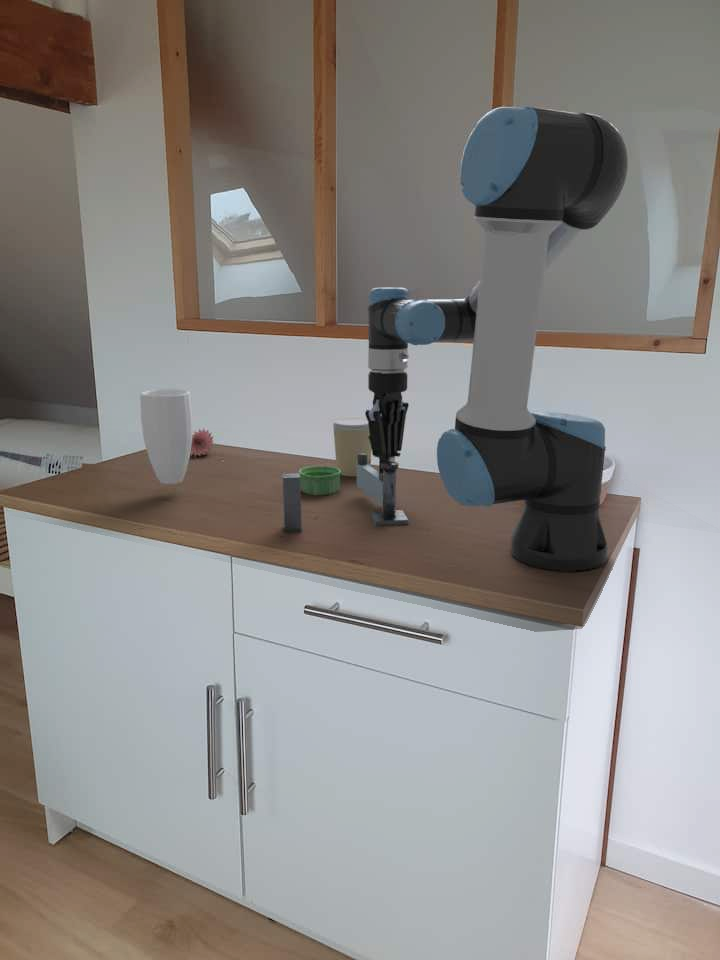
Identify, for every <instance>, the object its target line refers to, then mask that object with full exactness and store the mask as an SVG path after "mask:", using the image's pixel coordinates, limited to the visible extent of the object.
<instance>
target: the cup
mask: <svg viewBox="0 0 720 960" xmlns="http://www.w3.org/2000/svg"><path fill="white" fill-rule="evenodd" d="M139 397H140V398H139V399H140V401H139V402H140V421H141V427H142V435H143V442H144V445H145V449H146V452H147V456H148V460H149V462H150V465H151V467H152V469H153V471H154V474H155V475H156V477H157V479H158V481H159V483H161V484H164V485H175V484H179V483H180V484H181V483H182V482H183V481H184V478H185V475H186V473H187V469H188V465H189V461H190V458H191V457H190V456H191V452H192V451H191V444H192V435H193V411H192V401H191V393H190V391H189V390H186V389H180V388H178V389H177V388H161V389H160V388H159V389H152V390H146V391H143V392H141V393H140V395H139Z"/></svg>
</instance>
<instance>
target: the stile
mask: <svg viewBox="0 0 720 960" xmlns="http://www.w3.org/2000/svg"><path fill="white" fill-rule="evenodd" d="M301 492H302V490H301V482H300V474H299V472H293V473H292V472H291V473H282V502H283V505H282V506H283V527H284V533H292V532H295V533H296V532H302V494H301Z"/></svg>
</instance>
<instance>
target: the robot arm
mask: <svg viewBox="0 0 720 960" xmlns="http://www.w3.org/2000/svg"><path fill="white" fill-rule="evenodd" d="M627 151H628V150H627V147H626V144H625V142H624V139H623V136H622V135H621V134H620V132H619V130H618V128H616V127H615V126H614V125H613V124H612V122H611V121H609V120H607V119H605V118H603V117H602V116H599V115H597V114H593V113H586V112H579V113H578V112H572V111H562V110H558V109H556V110H555V109H549V108H542V107H541V108H539V107H532V106H501V107H496V108H494V109H492V110H490V111H488V112H487V113H485V114H484V115H483V116H482V117H481V118H480V120H478V122H477V124H476V125H475V127H474V128H473V129H472V131H471V133H470V135H469V137H468V139H467V141H466V144H465V146H464V149H463V152H462V153H463V154H462V157H461V163H460V170H459V171H460V173H459V177H460V180H459V181H460V185H461V186H462V190H461V192H462V194H463V196H464V198H465V199H466V200H467V201H468V202H469V203H471V204H472V205H473V206H474V207H475V208H474V217H473V218H474V220H475V221H476V223H477V224H478V225H479V226H480V228H481V229H482V231H483V241H482V242H483V243H482V250H481V251H482V252H481V262H480V272H479V280H478V282H477V283H476V284H475V286H474V287H473V288H472V290H471V291H470V292H469V293H468V295H467V296H466V297H464V298H460V299H459V298H456V299H453V298H452V299H451V298H450V299H410V297H409V291H408V289H407V288H405V287H374V288H372V289H370V291H369V293H368V306H367V312H368V314H367V315H368V321H367V322H368V352H367V353H368V357H367V359H368V360H367V367H368V369H369V370H371V371H369V372H368V375H367V376H368V380H367V381H368V382H367V383H368V385H367V387H368V390H369V391H370V392H372V393H373V400H372V408H371V409H366V410H365V412H364V413H365V415H364V416H365V417H366V418H365V419H367V420H368V424H369V432H370V439H371V447H372V452H371V455H372V456H373V457H375V458H378V461H379V462H378V463H379V464H378V465H379V466H378V468H379V469H378V472H379V473H383V469H381V463H383V462H396V457H400V456H401V451H402V448H403V441H404V431H405V426H406V425H405V424H406V418H407V412H408V410H409V402H404V401H403V395H402V393H404V392H406V391H408V373H407V371H405V370H407V368H408V359H409V354H408V347H409V344H410V345H413V346H418V345H419V346H420V345H421V346H425V345H427V346H428V345H431V344H433V343H434V344H435V343H450V342H451V343H453V342H454V343H455V342H472V343H473V344H472V354H471V363H470V364H471V365H470V375H469V385H468V387H469V388H468V395H467V402H466V404H465V405H463V406H462V407H460V409H458V410H457V411H456V413H455V423H454V428H451V429H447V431H444V432H443V433H442V434H441V436H440V437H439V439H438V441H437V447H436V462H437V468H438V472H439V477H440V478H441V479H440V480H441V481H442V483H443V486H444V488H445V490H446V491H447V493H448V494H449V495H450V497H451V498H452V499H453V500H454V501H456V502H457V503H458V504H460V505H462V506H465V507H477V506H478V507H479V506H483V507H490V506H493V505H498V504H507V503H512V502H519V501H524V502H523V503H524V505H523V509H522V511H521V514H520V517H519V519H518V521H517V523H516V526H515V527H514V528H515V529H514V531H513V533H512V536H511V542H510V544H511V545H510V553H511V555H512V556H513V557H514V559H516V560H518V561H520V562H522V563H524V564H526V565H529V566H532V567H535V568H539V569H543V568H544V570H549V569H550V571H556V570H557V571H558V570H560V571H558V572H577V571H576V570H583V571H588V570H587V569H590V570H593V568H594V569H596V568H597V569H598V568H600V567H601V566H604V564H605V563H606V562H607V556H608V543H607V539H606V535H605V531H604V526H603V523H602V519H601V515H600V505H601V494H602V483H603V481H602V480H603V473H604V472H603V471H604V462H605V452H606V450H607V449H606V448H607V447H606V428H605V426H604V425H603V423H602V422H601V421H600V420H597V419H595V418H591V417H589V416H587V417H586V416H582V415H577V414H570V413H564V412H556V411H549V410H547V411H546V410H545V411H544V410H535V411H532V412H530V410H529V409H528V402H529V395H530V387H531V380H532V379H531V378H532V371H533V370H532V369H533V362H534V357H535V355H534V354H535V348H536V346H535V345H536V341H537V339H536V338H537V330H538V323H539V318H540V317H539V315H540V307H541V302H542V293H543V285H544V277H545V272H546V271H548V270H549V268H550V266H552V265H553V263H555V261H556V260H557V259H558V258H559V257H560V256H561V255H562V254H563V253H564V251H566V249H567V248H568V247H569V246H570V245H571V244H572V243H573V241H574V240H575V239H576V238H577V237H578V236H579V235H580V234H581V233H582V232H584V231H589V230H592V229H594V228H596V227H597V225H598V224H599V223H600V222H601V221H602V220H603V219H604V218H605V217H606V216H607V214H608V213H609V212H610V211H611V209H612V208H613V207H614V205H615V203H616V202H617V200H618V199H619V197H620V195H621V193H622V191H623V188H624V185H625V183H626V179H627V174H628V167H629V166H628V165H629V162H628V161H629V159H628V152H627Z"/></svg>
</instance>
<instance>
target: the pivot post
mask: <svg viewBox="0 0 720 960" xmlns="http://www.w3.org/2000/svg"><path fill="white" fill-rule="evenodd" d="M381 469H383V507H382V510H376V511H375V510H374V511H370V517H371V518H372V520H373V523H374V524H375V526H393V525H409V519H408V517H407V516H406V514H405V513H404V511H403V510H402V509H398V510H397V470H399V463H398V462H396V461H395V462H383V463H381Z"/></svg>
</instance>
